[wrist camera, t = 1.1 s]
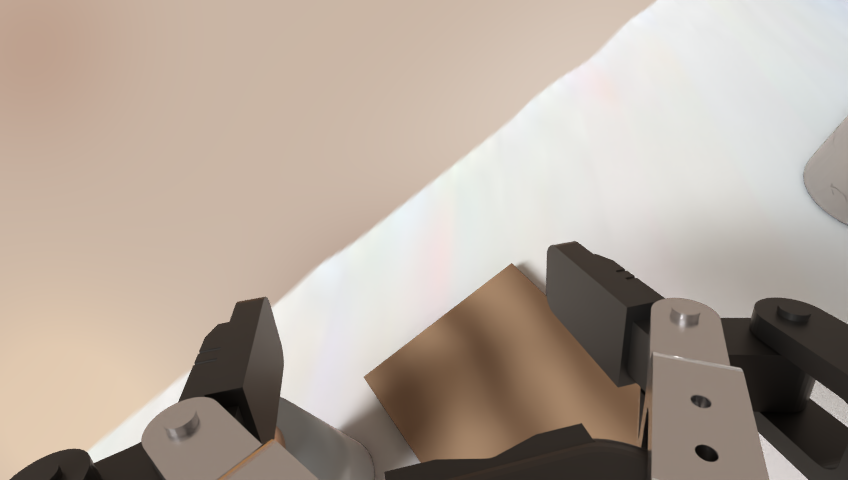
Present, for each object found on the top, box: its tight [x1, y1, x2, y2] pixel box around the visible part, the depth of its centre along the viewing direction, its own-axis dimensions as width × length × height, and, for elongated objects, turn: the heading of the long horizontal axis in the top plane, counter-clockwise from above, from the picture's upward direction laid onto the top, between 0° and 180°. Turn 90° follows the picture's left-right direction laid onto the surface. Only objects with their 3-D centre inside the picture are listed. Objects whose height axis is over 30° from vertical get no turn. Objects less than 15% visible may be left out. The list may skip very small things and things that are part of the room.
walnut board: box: [364, 263, 640, 463], centre depth 29 cm, size 14×18×1 cm
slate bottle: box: [274, 397, 375, 480], centre depth 23 cm, size 5×5×14 cm
